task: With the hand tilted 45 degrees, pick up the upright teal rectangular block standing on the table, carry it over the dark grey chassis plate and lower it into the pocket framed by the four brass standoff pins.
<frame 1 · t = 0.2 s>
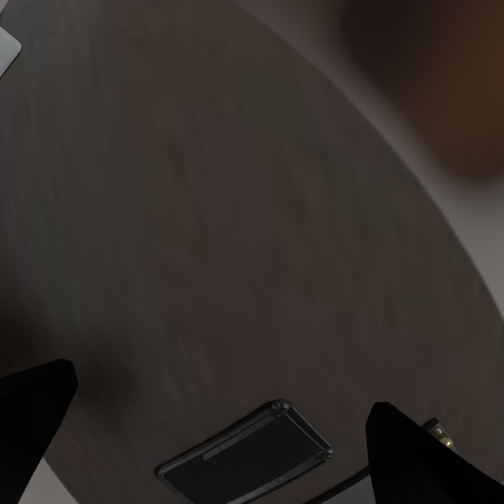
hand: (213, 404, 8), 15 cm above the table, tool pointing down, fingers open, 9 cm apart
chassis: (395, 491, 22), on the table
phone: (241, 462, 24), on the table
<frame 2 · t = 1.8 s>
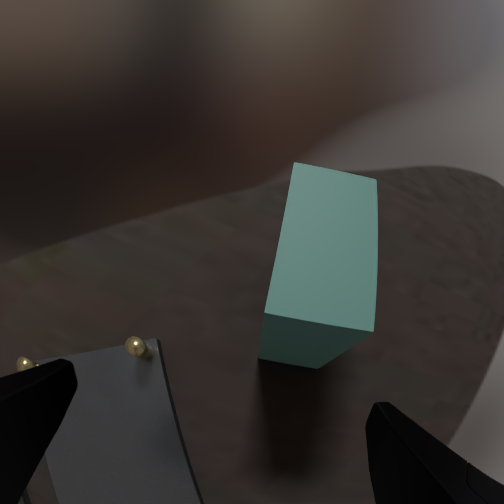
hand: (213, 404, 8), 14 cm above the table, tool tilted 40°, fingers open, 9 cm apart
chassis: (110, 448, 18), on the table
teal rectangular block: (297, 312, 23), on the table
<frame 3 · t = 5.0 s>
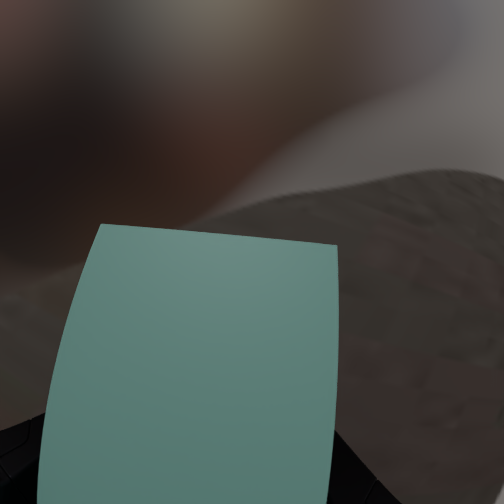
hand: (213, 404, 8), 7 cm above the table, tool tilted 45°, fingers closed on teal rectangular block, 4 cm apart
teal rectangular block: (224, 439, 13), on the table, touching gripper
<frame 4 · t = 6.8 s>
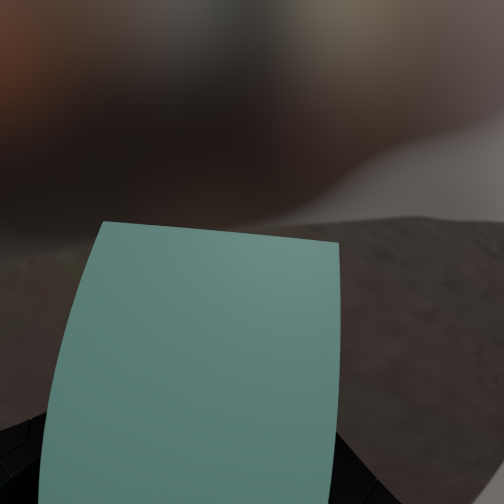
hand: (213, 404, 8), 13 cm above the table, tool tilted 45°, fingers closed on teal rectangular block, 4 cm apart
teal rectangular block: (225, 438, 13), point 6 cm above the table, touching gripper
when the fingers open (9 cm above the table, at t = 8.5 s): teal rectangular block drops 1 cm, resting on chassis.
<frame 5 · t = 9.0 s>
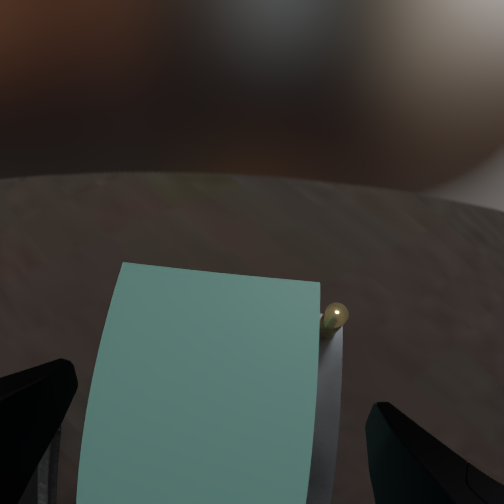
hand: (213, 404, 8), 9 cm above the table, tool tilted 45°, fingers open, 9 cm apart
chassis: (227, 437, 15), on the table
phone: (17, 490, 12), on the table
teal rectangular block: (226, 438, 14), point 1 cm above the table, touching chassis
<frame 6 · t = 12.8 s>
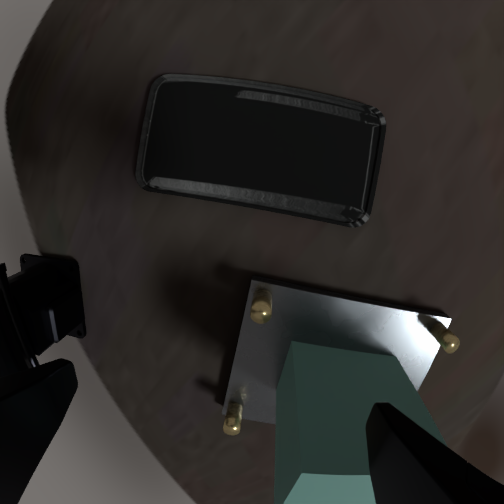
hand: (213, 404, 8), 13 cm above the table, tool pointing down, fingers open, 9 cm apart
chassis: (335, 367, 22), on the table
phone: (259, 144, 19), on the table
teal rectangular block: (337, 375, 21), point 1 cm above the table, touching chassis
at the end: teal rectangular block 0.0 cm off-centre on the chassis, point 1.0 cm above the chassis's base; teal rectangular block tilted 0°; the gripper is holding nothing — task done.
